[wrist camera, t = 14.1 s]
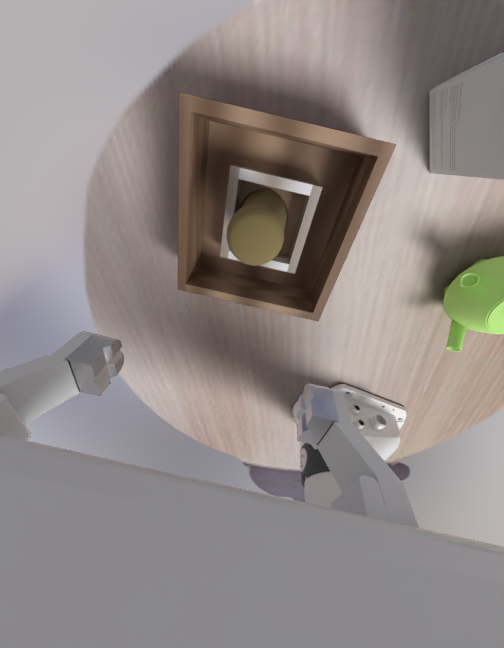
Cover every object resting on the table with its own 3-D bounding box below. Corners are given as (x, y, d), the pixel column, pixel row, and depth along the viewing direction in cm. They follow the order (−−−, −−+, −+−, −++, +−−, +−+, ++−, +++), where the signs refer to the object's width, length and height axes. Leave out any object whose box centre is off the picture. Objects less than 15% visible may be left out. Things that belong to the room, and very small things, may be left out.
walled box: (370, 147, 25) (396, 144, 19) (312, 294, 35) (318, 321, 30) (203, 107, 24) (178, 91, 19) (195, 268, 35) (177, 289, 29)
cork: (232, 231, 30) (210, 260, 21) (248, 179, 27) (229, 188, 18) (276, 249, 31) (272, 284, 22) (296, 200, 28) (302, 219, 18)
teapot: (543, 231, 27) (630, 255, 20) (515, 312, 33) (575, 352, 26) (432, 255, 30) (476, 284, 23) (424, 326, 36) (457, 366, 29)
